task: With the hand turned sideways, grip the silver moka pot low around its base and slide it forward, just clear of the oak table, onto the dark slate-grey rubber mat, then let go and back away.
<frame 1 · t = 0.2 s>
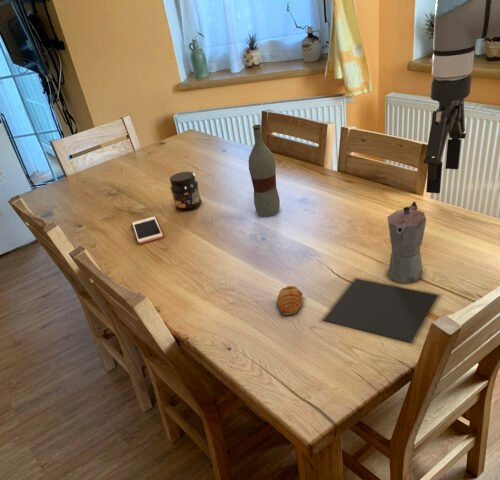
hand: (442, 180, 111), 29 cm above the table, tool pointing down, fingers open, 13 cm apart
bottle: (268, 212, 178), on the table
moka pot: (404, 274, 135), on the table
pastry: (291, 305, 131), on the table
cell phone: (147, 231, 181), on the table
supplement container: (189, 206, 193), on the table
mat: (380, 308, 124), on the table
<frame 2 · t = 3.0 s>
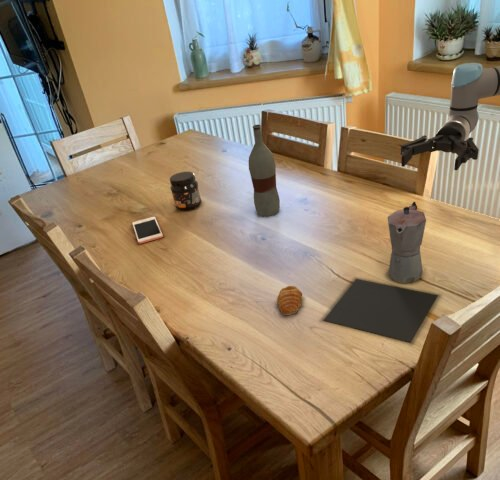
hand: (428, 163, 128), 25 cm above the table, tool horizontal, fingers open, 13 cm apart
nothing on the table moved.
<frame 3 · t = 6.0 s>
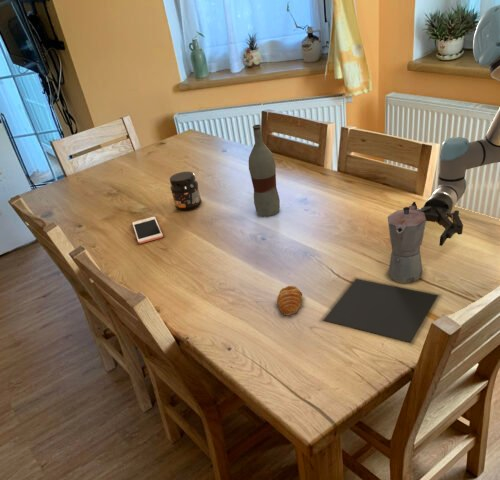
hand: (415, 237, 136), 7 cm above the table, tool horizontal, fingers open, 13 cm apart
nothing on the table moved.
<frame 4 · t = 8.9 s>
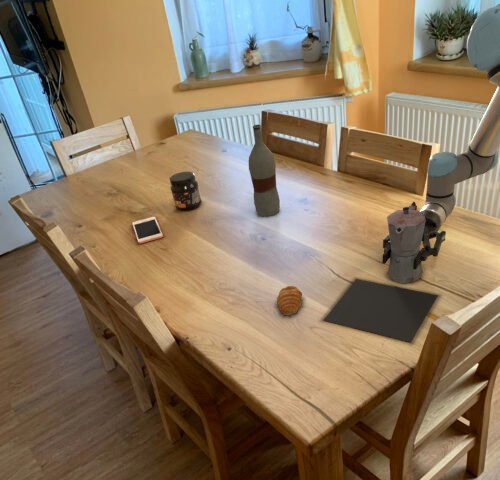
hand: (399, 261, 128), 7 cm above the table, tool horizontal, fingers closed on moka pot, 7 cm apart
moka pot: (404, 274, 135), on the table, touching gripper
everything else where it was.
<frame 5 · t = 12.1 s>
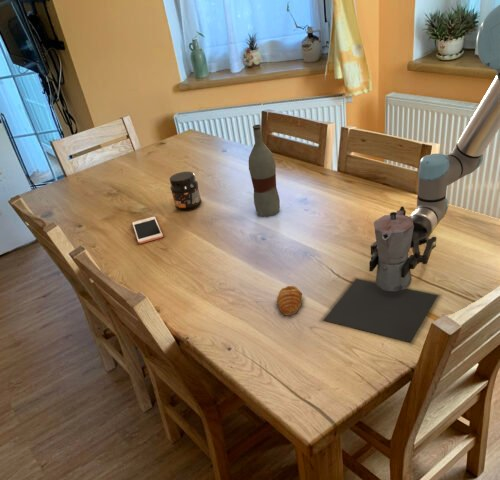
hand: (386, 269, 121), 9 cm above the table, tool horizontal, fingers closed on moka pot, 7 cm apart
moka pot: (392, 282, 129), point 2 cm above the table, touching gripper
everything else where it was.
when the fingers open (7 cm above the table, at t = 15.3 s): moka pot stays where it is, resting on mat.
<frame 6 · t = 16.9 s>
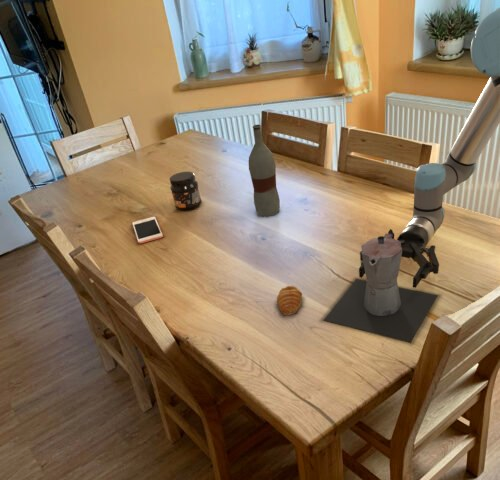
hand: (386, 277, 121), 7 cm above the table, tool horizontal, fingers open, 13 cm apart
moka pot: (381, 305, 125), resting on mat
everything else where it was.
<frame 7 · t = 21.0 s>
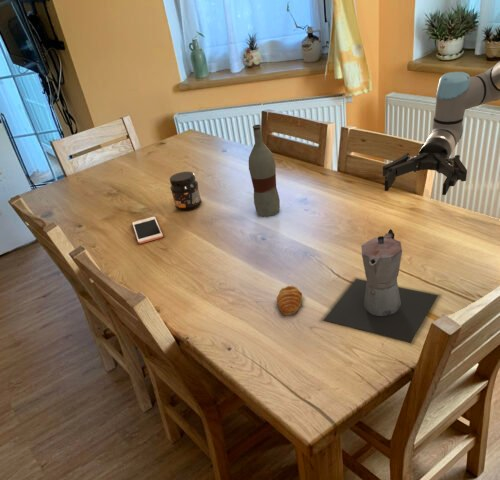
hand: (414, 187, 118), 25 cm above the table, tool horizontal, fingers open, 13 cm apart
nothing on the table moved.
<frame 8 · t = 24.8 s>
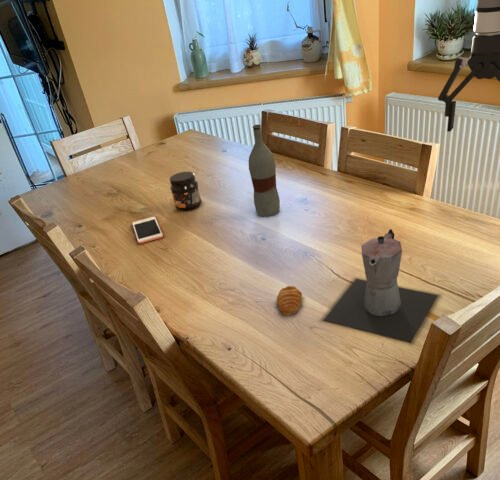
hand: (478, 130, 122), 32 cm above the table, tool pointing down, fingers open, 13 cm apart
nothing on the table moved.
at the end: moka pot inside the target area (0.5 cm from its centre), resting on mat; moka pot tilted 0°; moka pot moved 16.0 cm from its start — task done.
